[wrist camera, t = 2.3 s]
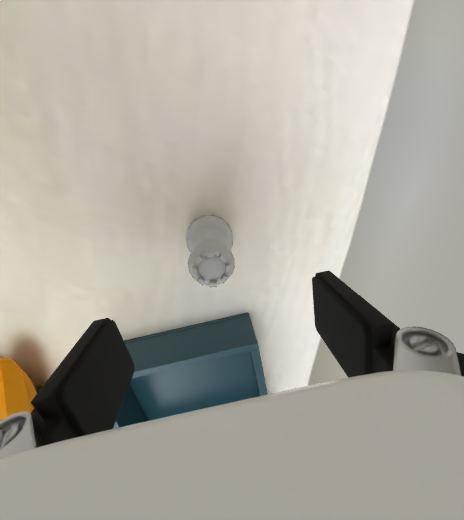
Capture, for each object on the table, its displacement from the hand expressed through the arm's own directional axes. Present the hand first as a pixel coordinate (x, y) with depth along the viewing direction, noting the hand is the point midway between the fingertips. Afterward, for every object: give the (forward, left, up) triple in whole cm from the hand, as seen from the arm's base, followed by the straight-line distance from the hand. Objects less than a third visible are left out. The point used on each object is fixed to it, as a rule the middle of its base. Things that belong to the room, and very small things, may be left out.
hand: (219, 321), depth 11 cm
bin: (+18, -6, -13) cm, 23 cm away
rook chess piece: (0, 0, -13) cm, 13 cm away
